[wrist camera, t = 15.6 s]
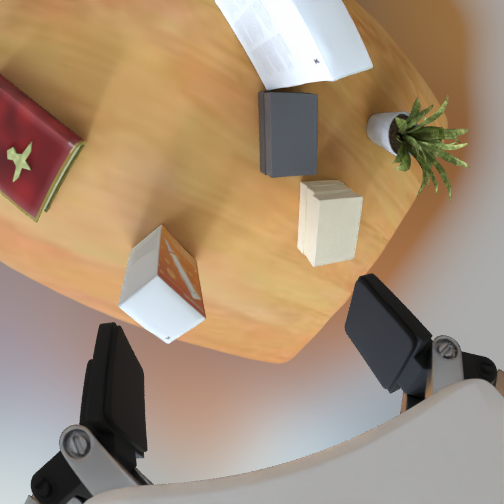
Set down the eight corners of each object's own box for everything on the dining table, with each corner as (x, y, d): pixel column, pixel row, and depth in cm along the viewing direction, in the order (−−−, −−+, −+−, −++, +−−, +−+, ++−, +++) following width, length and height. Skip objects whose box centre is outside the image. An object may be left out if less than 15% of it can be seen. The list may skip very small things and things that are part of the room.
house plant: (378, 191, 43) (448, 233, 29) (325, 146, 37) (403, 176, 23) (415, 130, 39) (489, 154, 25) (370, 77, 32) (454, 81, 19)
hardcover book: (-1, 71, 17) (-16, 70, 13) (88, 140, 28) (77, 144, 24) (-33, 141, 19) (-49, 147, 16) (47, 211, 30) (35, 223, 27)
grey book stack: (258, 92, 31) (268, 90, 27) (303, 93, 32) (318, 92, 28) (260, 171, 36) (270, 179, 33) (303, 168, 38) (317, 176, 34)
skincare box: (301, 78, 31) (376, 69, 17) (266, 92, 31) (328, 85, 18) (232, -38, 19) (268, -99, 6) (194, -27, 19) (211, -92, 6)
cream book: (311, 194, 35) (319, 200, 33) (354, 191, 36) (363, 196, 35) (307, 259, 40) (313, 266, 38) (346, 251, 42) (353, 258, 40)
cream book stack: (300, 181, 38) (313, 190, 35) (337, 179, 40) (353, 187, 36) (297, 247, 44) (308, 261, 40) (331, 241, 45) (344, 254, 42)
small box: (197, 260, 40) (208, 319, 30) (166, 283, 41) (167, 345, 30) (161, 221, 36) (157, 274, 25) (129, 248, 37) (116, 307, 26)
